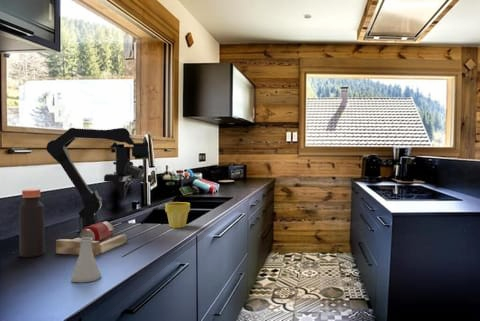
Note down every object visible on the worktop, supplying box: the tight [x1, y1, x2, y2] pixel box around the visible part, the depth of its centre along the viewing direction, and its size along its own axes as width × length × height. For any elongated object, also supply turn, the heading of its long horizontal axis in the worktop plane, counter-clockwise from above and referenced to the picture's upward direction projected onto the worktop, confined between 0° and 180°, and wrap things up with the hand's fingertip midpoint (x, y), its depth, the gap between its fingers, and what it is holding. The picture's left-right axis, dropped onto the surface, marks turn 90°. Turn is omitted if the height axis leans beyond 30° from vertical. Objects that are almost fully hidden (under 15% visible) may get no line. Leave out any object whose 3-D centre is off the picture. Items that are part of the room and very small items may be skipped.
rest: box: [55, 234, 127, 257], centre depth 126 cm, size 14×18×4 cm
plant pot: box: [164, 201, 191, 229], centre depth 160 cm, size 10×10×10 cm
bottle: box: [18, 188, 46, 258], centre depth 117 cm, size 7×7×20 cm
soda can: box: [79, 220, 115, 243], centre depth 131 cm, size 7×7×12 cm
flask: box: [70, 237, 102, 283], centre depth 94 cm, size 7×7×10 cm
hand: (123, 197), depth 154 cm, fingers closed
